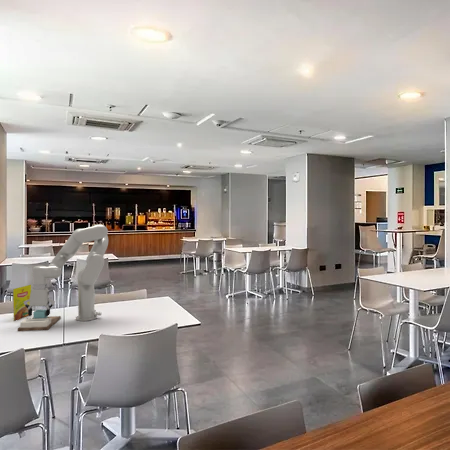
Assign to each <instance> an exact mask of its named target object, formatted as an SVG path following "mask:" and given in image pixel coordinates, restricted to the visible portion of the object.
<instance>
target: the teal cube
mask: <svg viewBox="0 0 450 450" xmlns="http://www.w3.org/2000/svg"><path fill="white" fill-rule="evenodd" d="M46 310H47V309H36V310H35V311H32V316H33V317H32V318H47V317H48V316H46Z"/></svg>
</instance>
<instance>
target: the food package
mask: <svg viewBox="0 0 450 450" xmlns="http://www.w3.org/2000/svg"><path fill="white" fill-rule="evenodd" d="M31 290H32V284H27V285H24V286H20V287H16V288H13V290H12V291H13V293H12V294H13V295H12V296H13V297H12V299H13V300H12V302H13V322H16V320H17V321H20V320H22V319H24V318H25V319H26V318H27V317H30V316H29V314H28V309H27V307H26V306H25V304H24V301H26V300H28V299H30V294H31ZM27 304H28V305H29V306H30V301H29V302H27Z"/></svg>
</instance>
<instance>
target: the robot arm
mask: <svg viewBox="0 0 450 450" xmlns="http://www.w3.org/2000/svg"><path fill="white" fill-rule="evenodd" d="M108 233H109V230H108V228H107V226H105V225H104V224H95V225H93V226H89V227H86V228H85V227H84V228H77V229H75V230H74V231H72V234H71V235H70V236H69V237H68V239H67V240H66V241H65V243H64V244H63V246H61V249H60V250H59V251H58V252H57V254H56V255H55V256H54V257H53V259H52V260H51V261H50V263H49V264H48V265H47V266H45V265H35V266H34V267H33V268H32V288H31V294H30V299H28V300H26V301H24V304H25V306H26V307H27V309H28V314H29V316H28V317H31V316H33V307H45V308H46V309H45V310H46V316H47V317H49V316H50V314H51V309H52V308H53V306H54V305H55V303H56V301H55V300H53V299H51V298H50V290H49V288H50V284H48V279H58V278H59V277H60V276H61V275H62V272H63V271H62V269H63V267H64V266H65V264H66V263H67V262H68V261H69V260H70V259H72V258H73V257H74V256H75V255H76V254H77V252H78V251H79V249H81V246H82V245H83V244H84V243H89V242H93V241H94V242H93V244H92V247H91V249H90V251H89V253H88V255H87V257H86V258H85V259H86V261H85V262H86V265H85V267H84V268H82V269H80V270H79V271H78V273H77V276H76V277H77V291H78V293H77V295H78V296H77V299H78V300H77V301H78V303H77V304H78V307H77V312H78V315H76V316H75V321H80V322H89V321H93V320H95V319H97V318H98V317H99V316H101V317H102V312H101V311H96V309H95V283H96V282H97V280H98V278H99V276H100V274H101V272H102V270H103V268H104V266H105V257H104V256H105V253H106V252H107V249H108V245H109V237H108ZM29 301H30V306H29V305H28V304H27V302H29ZM50 303H51V304H50Z"/></svg>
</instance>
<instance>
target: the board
mask: <svg viewBox="0 0 450 450" xmlns="http://www.w3.org/2000/svg"><path fill="white" fill-rule="evenodd" d="M47 318H51V324H49V325H48V326H47V327H31V328H20V326H19V327H18V328H17V332H26V331H28V332H31V331H32V332H34V331H49V330H50V329H51V328H52V327H53V326H54V325H56V324H57V323H58V322H59V321H60V320H61V319H62V316H61V315H59V316H58V315H55V316H54V315H53V316H50V315H49V316H47Z"/></svg>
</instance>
